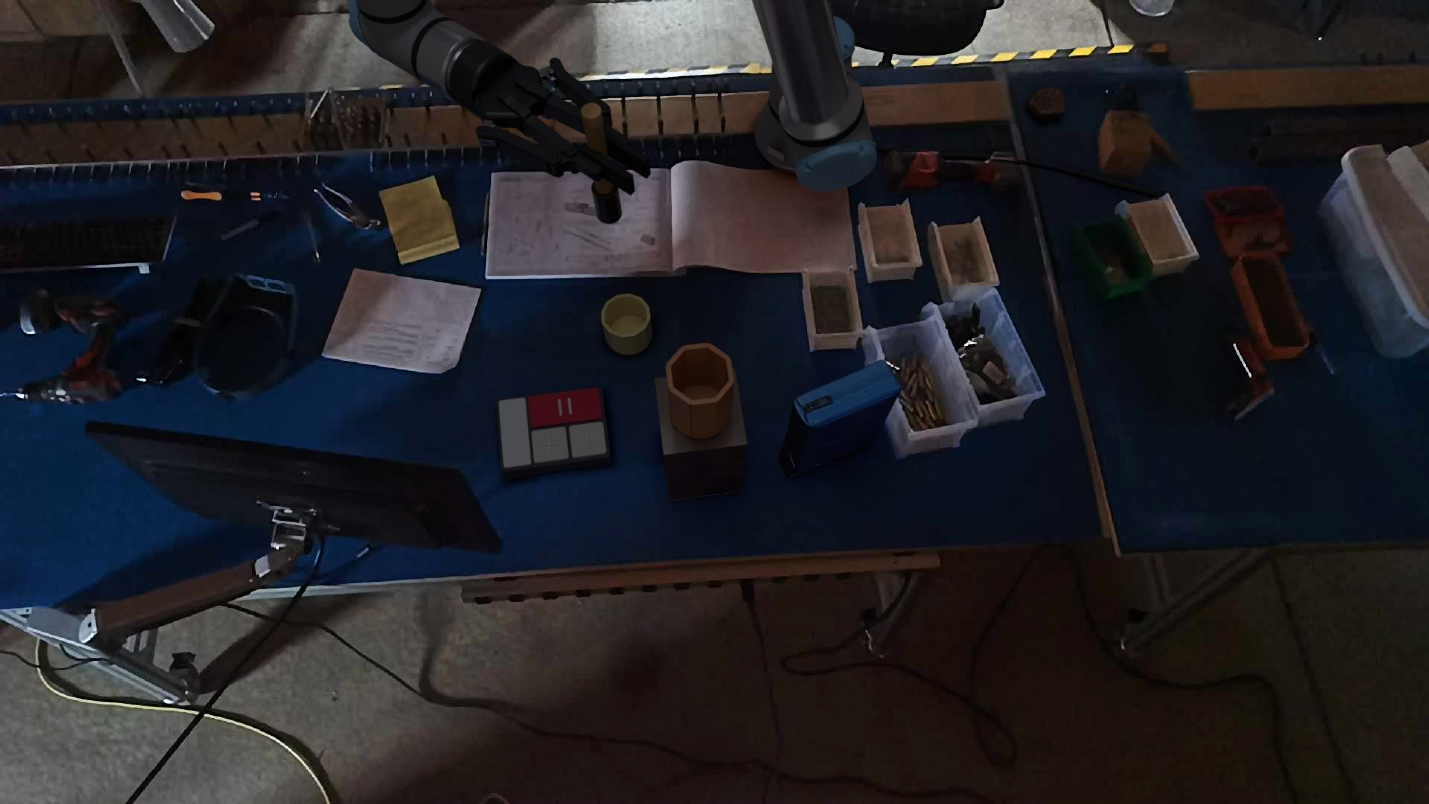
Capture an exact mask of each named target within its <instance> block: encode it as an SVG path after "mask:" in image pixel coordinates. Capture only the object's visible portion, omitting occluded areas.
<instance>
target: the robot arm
mask: <svg viewBox="0 0 1429 804" xmlns="http://www.w3.org/2000/svg"><path fill="white" fill-rule="evenodd" d="M751 2H752V5H753V8H754V12H755V14H756V18H757V21H758V24H759V26H760V29H761V32H762V35H763V39H764V42H765V44H766V48H767V51H768V53H769V56H770V59H771V69H770V80H769V90H768V91H769V92H768V99H767V101H766V102H765V104H764V106H763V108H762V109H761V111H760V113H759V115H758V117H757V118H756V122H755V125H754V131H753V132H754V133H753V142H754V146H755V149H756V152H757V154H758V155H759V157H760V158H761V159H762V161H763V162H765V164H767V165H768V166H769V167H771V168H772V169H774V170H775V171H778V172H780V173H783V174H787V175H790V176H796V177H797V180H798V182H799V184H800V185H801V186H802V187H803V188H804V189H806V190H808V191H812V192H821V193H829V192H835V191H839V190H844V189H846V188H849V187H852V186H854V185H856V184H858V183H859V182H861V181H863V180H864V178H865V177H867V176H868V175H870V174H871V172H872V171H874V169H875V167H876V166H877V165H876V164H877V162H878V153H877V151H880V152H884V153H889V152H891V151H897V152H924V151H922V150H911V149H904V148H898V147H892V146H886V145H881V144H878V143H876V142H875V141H874V137H873V134H872V130H871V127H870V126H871V125H870V123H869V118H868V113H867V109H866V105H865V99H864V95H863V90H862V88H861V85H860V83H859V81H858V80H857V79H856V76H855V75H856V74H855V72H854V68H853V56H854V53H855V50H856V43H855V42H856V37H855V33H854V30H853V29H852V27H851V26H850V25H849V23H847V22H846V21H845V20H844V19H843V18H841V17H839V16H836V15H834V13H833V9H832V4H831V0H751ZM347 10H348V12H349V14H348V15H349V16H348V25H349V28H350V31H351V32H352V34H353V35H354V37H355V38H356V39H357V40H358V41H359V42H361V43H362V44H363V45H364V46H366V47H367V48H368V49H369V50H370V52H372V53H374V54H376V56H378V57H379V58H380V59H381V58H382V59H383V60H386V61H387V62H389V63H391V64H392V65H394V66H395V67H397V68H399V69H400V70H402V71H404V72H405V73H407V74H408V75H410V76H411V77H414V78H415V79H417V80H419V81H420V82H422V83H424V84H425V85H426V86H428V87H430V88H431V89H432V90H434V91H436V92H437V93H439V94H440V95H442V96H444V97H446V98H447V99H448V100H451V101H452V102H454V103H455V104H456V105H457V106H459V107H460V108H462V109H464V110H465V111H467V112H468V113H470V114H472V115H473V116H475V117H477V118H478V119H480V120H481V122H482V123H481V125H479V126H477V127H476V128H475V134H476V136H477V139H478V142H479V145H480V147H481V149H483V151H489V152H490V151H491V152H498V153H502V154H505V155H506V156H508V157H510V158H512V159H515V160H517V161H519V162H522V163H523V164H526V165H528V166H530V167H533V168H534V169H537V170H539V171H541V172H542V173H545V174H548V175H550V176H551V177H554V178H556V179H557V178H558V179H559V178H562V177H563V176H564V175H565V173H566V172H567V171H570V173H571V174H572V175H578V174H579V173H580V174H582V175H584V176H585V177H587V178H589V179H590V180H591V181H592V182H593V181H597V182H600V181H601V180H602V179H605V180H606V181H608V182H609V183H611V184H613V185H614V186H616V187H617V188H619V190H620V191H622V192H623V193H626V194H627V195H628V196H630V197H631V196H632V195H633V194H634V193H635V192H636V186H635V178H634V177H635V176H634V173H631V172H630V171H633V172H635V174H638V175H639V176H641V177H642V178H644V179H646V180H647V179H648V178H649V177H650V176H651V175H652V170H651V160H650V157H649V156H648V155H646V154H645V153H643V152H641V151H640V150H638V149H636V148H635V147H633V146H632V145H631V140H630V138H629V137H628V136H627V135H626V134H624V133H622V132H620V131H619V130H617V129H615V128H614V127H613V125H614V123H613V117H612V109H611V106H610V105H609V104H608V103H606V101H604V99H602V98H600V97H599V96H598V95H597V94H595V93H594V91H592V90H590V89H589V88H588V87H587V86H586V85H585V84H583V83H582V82H581V81H579V80H578V79H577V78H575V77H574V76H573V75H572V74H571V73H570V72H569V71H567V69H566V68H565V66H564V65H563V62H562V61H561V59H560V58H559V57H556V56H555V57H552V58H550V59H549V61H548V62H549V65H547V66H545V67H542V68H536V67H534V66H533V65H532V66H531V65H525V64H522V63H520V62H519V61H518V60H517V59H515V57H514V56H513V55H511V54H510V53H508V52H506V51H505V50H502V48H500V47H498V46H496V45H494V44H493V43H491V42H490V41H487V40H485V39H484V38H483V37H482V36H481V35H479V34H477V33H475V32H474V31H472V30H470V29H469V28H467V27H465V26H463V25H462V24H459V23H458V22H456V21H455V20H453V19H451V18H450V17H448V16H447V15H445V14H444V13H442V12H440V11H439V10H437V9H436V8H435V6H434V5H433V2H432V0H349V3H348V7H347ZM543 83H547V84H548V85H549V86H551V87H552V89H558V91H559V92H560V93H561V94H562V95H563V96H564V97H565V98H567V99H568V100H569V101H568V100H566V99H563V98H561V97H559V96H557V95H555V94H554V93H553V92H552V91H551V89H549V88H547V87H545V86H544V84H543ZM588 103H595V104H598V105H599V106H600V108H601V111H602V118H603V124H604V130H605V136H606V142H607V148H608V155H609V159H607V158H606V157H604V156H602V155H601V154H599V153H598V152H596V151H594V150H593V149H590V148H589V147H588V146H587V144H584V143H583V144H582V145H581V146H580V147H579V148H578V150H577V147H576V146H575V145H574V144H573V143H571V142H570V141H569V140H568V139H566V138H565V137H563V136H562V135H561V134H560V133H558V132H557V131H556V130H555V129H553V128H552V127H551V126H550V125H548V124H547V123H545V122H544V121H543V120H541V119H540V118H539V117H541V118H544V119H546V120H548V121H550V120H554V121H555V122H557V123H559V124H562V125H563V126H566V127H568V128H570V129H572V130H574V131H576V132H578V133H580V134H582V135H583V136H585V130H584V125H583V120H582V115H581V109H582V107H583V106H584V105H585V104H588ZM506 129H516V130H517V131H519V133H521V134H522V135H524V136H525V137H526V138H525V137H524V138H523V137H522V136H519V135H518V134H515V133H513V132H510V131H508V130H506ZM527 138H528V139H532V140H533V141H534V142H533V141H531V140H528V139H527ZM535 142H536V143H535ZM937 152H938V151H937ZM938 153H939V154H940V156H941V158H940V159H983V160H991V159H990V158H991V155H993V154H994V153H988V152H968V151H967V152H966V151H958V152H956V151H955V152H941V151H939V152H938ZM610 158H612V159H613V160H615V161H616V162H618V163H620V164H622V166H625V167H626V168H628V169H630V171H628V170H626V169H625V168H623V167H621V166H620V165H619V164H617V163H615V162H614V161H612V160H611V159H610ZM1017 161H1019V162H1018V163H1020V164H1027V165H1032V166H1037V167H1043V168H1046V169H1049V170H1050V169H1051V170H1055V171H1059V172H1063V173H1066V174H1072V175H1075V176H1079V177H1082V178H1087V179H1089V180H1093V181H1096V182H1100V183H1104V184H1106V185H1110V186H1114V187H1117V188H1122V189H1126V190H1130V191H1134V192H1138V193H1142V194H1146V195H1151V196H1155V197H1158V198H1160V197H1161V196H1162V192H1163V191H1162V190H1157V189H1154V188H1149V187H1147V186H1141V185H1138V184H1133V183H1130V182H1125V181H1122V180H1118V179H1114V178H1111V177H1106V176H1103V175H1098V174H1096V173H1093V172H1088V171H1085V170H1082V171H1080V170H1081V169H1078V170H1075V169H1076V168H1074V171H1071V170H1067V168H1066V169H1062V168H1058V167H1054V166H1050V165H1046V164H1041V163H1036V162H1030V161H1024V160H1017ZM1060 165H1061V164H1058V165H1056V166H1060ZM1071 168H1072V167H1070V169H1071ZM1068 169H1069V168H1068ZM1072 170H1073V169H1072ZM1075 171H1078V172H1079V171H1080V172H1082V173H1083V174H1082V173H1078V172H1075ZM1084 173H1085V174H1084ZM1090 175H1091V176H1090Z"/></svg>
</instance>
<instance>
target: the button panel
mask: <svg viewBox="0 0 1429 804" xmlns="http://www.w3.org/2000/svg"><path fill="white" fill-rule="evenodd" d="M603 392H604V391H603V387H602V386H600V385H599V386H590V387H583V388H576V389H575V388H574V389H567V390H566V389H565V390H559V391H551V392H543V393H536V394H535V393H534V394H528V395H519V396H511V397H503V398H498V399H496V400H495V412H496V425H497V437H498V438H497V439H498V450H499V451H498V452H499V464H500V465H499V466H500V470H501V473H502V475H503V477H504V479H506V480H516V479H522V478H531V477H534V476H536V475H542V474H547V473H549V474H550V473H556V472H563V471H571V470H577V469H584V468H590V467H591V468H592V467H598V466H605V465H610V464H612V453H611V452H612V451H611V445H610V437H609V428H608V421H607V415H606V407H605V399H604V393H603Z"/></svg>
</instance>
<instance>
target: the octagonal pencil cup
mask: <svg viewBox="0 0 1429 804" xmlns="http://www.w3.org/2000/svg"><path fill="white" fill-rule="evenodd" d="M664 367H665V377H666V378H667V388H668V399H669V407H670V415H671V423H672V424H673V425H674V426H675V427H676V428H677V429H678V430H679V431H680V432H681V433H683V434H684V435H686V436H688V437H692V438H697V439H703V438H709V437H712V436H714V435H716V434H718V433H719V432H720V431H721V430H722V429H723V428H724V427H725V426H726V424H727V422H728V421H729V419H730V418H731V416H732V405H733V393H734V381H735V380H734V374H733V369H734V368H733V362H732V358H731V356H729V355H728V354H727V353H725V352H723V351H722V350H721V349H719V348H718V347H716V346H715V345H714V344H712V343H710V342H702V343H693V344H692V343H691V344H685V345H684V344H683V345H682V346H680V348H679V349H678V350H677V351H676V352H675V353H674V354H673V355H672V357H671V358H670V359H669V360H668V361H667V363H666V364H665V366H664Z"/></svg>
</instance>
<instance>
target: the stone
mask: <svg viewBox="0 0 1429 804" xmlns="http://www.w3.org/2000/svg"><path fill="white" fill-rule="evenodd" d="M1026 106H1027V109H1028V110H1029V112H1030V113H1031V114H1033V115H1034V117H1035V119H1036V120H1038V121H1041V122H1045V121H1049V122H1050V121H1053V120H1055V119H1057V118H1059V117H1061V116H1062V115H1064V114H1065V113H1066V112H1067V106H1066V96H1065V95H1064V92H1063V90H1061V89H1059V88H1056V87H1053V86H1050V87H1044V88H1042V87H1040V88H1039V89H1038V90H1037V91H1035V92H1033V94H1032V95H1031V96H1030V97H1029V100H1028V101H1027V104H1026Z"/></svg>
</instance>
